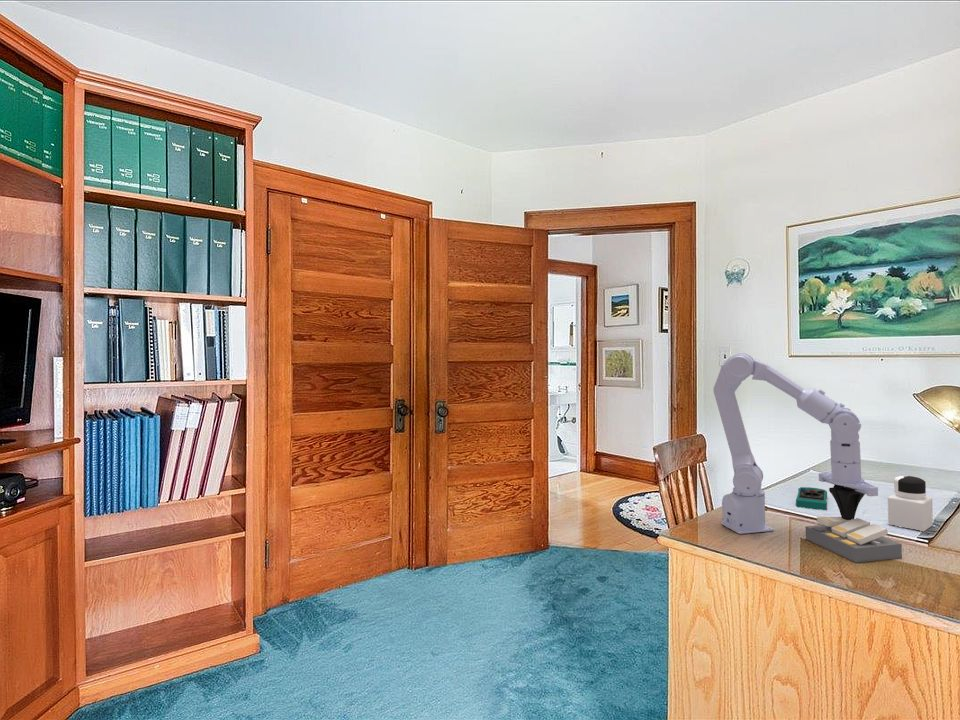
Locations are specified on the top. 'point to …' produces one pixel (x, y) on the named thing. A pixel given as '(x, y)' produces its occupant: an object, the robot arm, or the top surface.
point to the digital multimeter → (812, 498)
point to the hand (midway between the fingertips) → (848, 518)
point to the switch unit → (854, 545)
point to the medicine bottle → (910, 504)
